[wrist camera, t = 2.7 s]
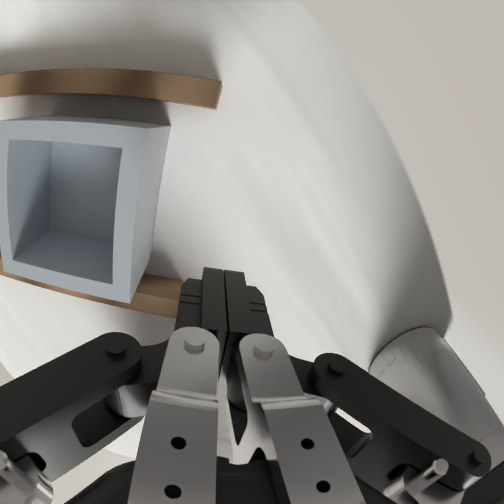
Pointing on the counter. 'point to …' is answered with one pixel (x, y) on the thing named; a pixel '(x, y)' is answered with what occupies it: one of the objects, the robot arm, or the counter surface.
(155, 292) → the bay
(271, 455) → the robot arm
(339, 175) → the counter surface
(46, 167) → the box
